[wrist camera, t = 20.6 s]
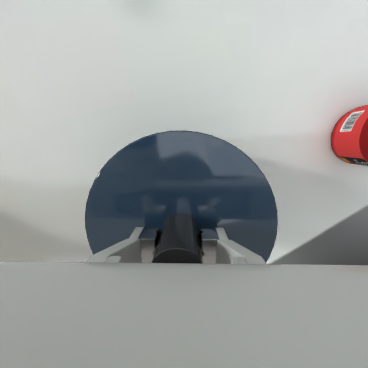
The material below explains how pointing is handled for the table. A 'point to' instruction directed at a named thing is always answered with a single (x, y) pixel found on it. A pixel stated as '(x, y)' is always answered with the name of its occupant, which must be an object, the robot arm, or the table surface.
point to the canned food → (352, 137)
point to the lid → (181, 196)
